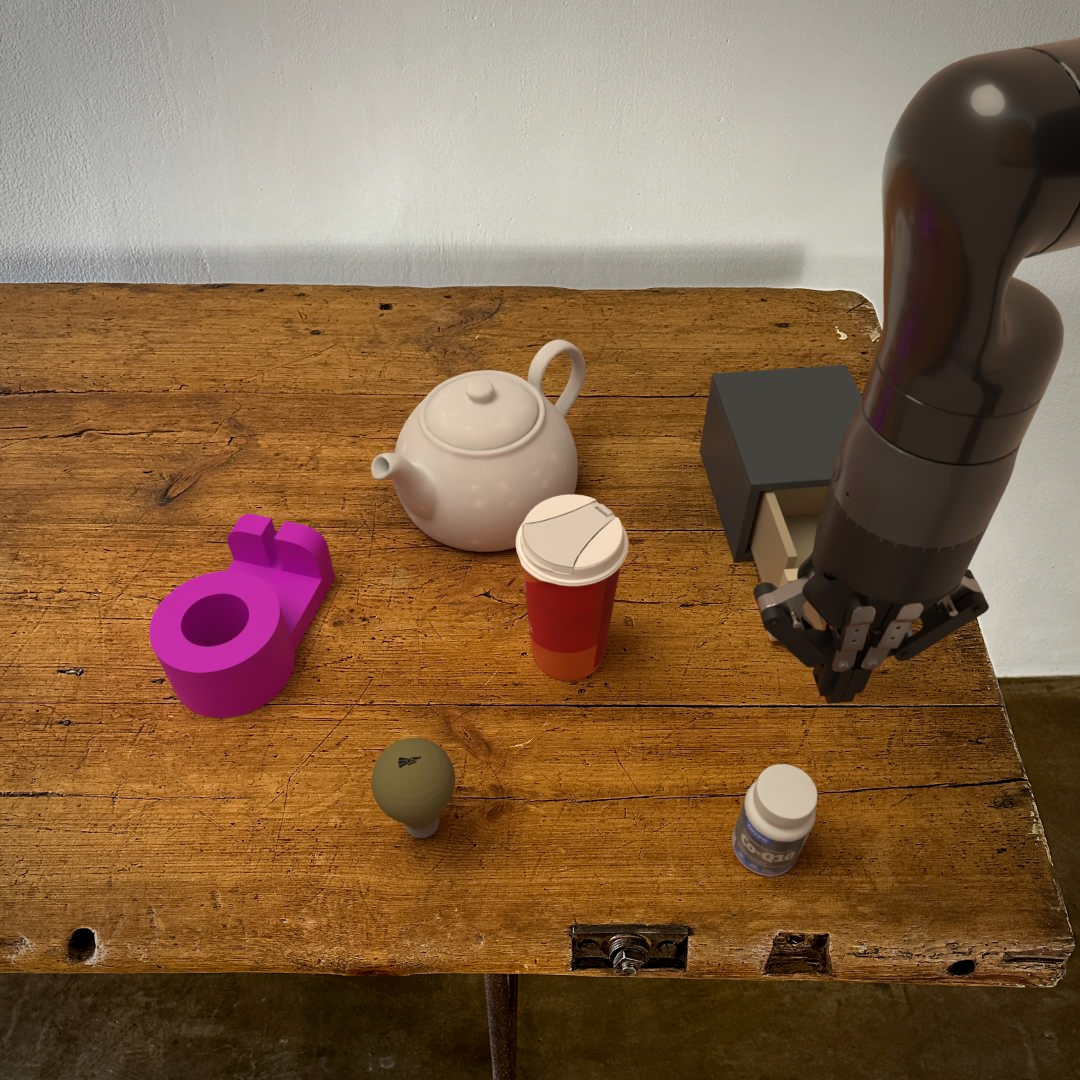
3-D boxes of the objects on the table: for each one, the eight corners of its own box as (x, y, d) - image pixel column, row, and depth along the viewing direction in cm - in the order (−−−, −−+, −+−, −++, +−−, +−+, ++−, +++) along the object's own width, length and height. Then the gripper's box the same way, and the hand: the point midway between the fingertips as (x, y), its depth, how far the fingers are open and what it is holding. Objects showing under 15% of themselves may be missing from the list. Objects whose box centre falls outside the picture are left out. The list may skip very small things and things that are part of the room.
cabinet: (871, 551, 88) (901, 473, 81) (733, 562, 88) (751, 484, 80) (823, 442, 98) (846, 364, 91) (699, 450, 97) (712, 373, 90)
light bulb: (409, 880, 68) (393, 814, 60) (370, 819, 71) (350, 750, 63) (476, 835, 70) (468, 767, 63) (435, 778, 73) (423, 707, 66)
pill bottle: (725, 866, 69) (743, 811, 62) (738, 807, 72) (757, 749, 65) (792, 887, 68) (818, 833, 61) (802, 827, 71) (828, 769, 64)
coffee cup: (572, 596, 85) (577, 473, 74) (638, 655, 81) (653, 534, 70) (497, 647, 81) (490, 525, 70) (562, 712, 77) (565, 593, 66)
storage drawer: (926, 677, 78) (957, 617, 72) (785, 689, 77) (805, 629, 71) (854, 513, 90) (875, 450, 84) (731, 522, 90) (745, 460, 84)
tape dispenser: (261, 730, 76) (243, 685, 71) (149, 701, 78) (124, 655, 73) (343, 578, 86) (332, 531, 82) (242, 556, 88) (225, 508, 83)
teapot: (590, 565, 87) (596, 454, 77) (385, 566, 87) (365, 454, 77) (582, 427, 100) (587, 316, 90) (403, 428, 100) (388, 316, 90)
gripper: (798, 553, 44) (741, 753, 56) (1082, 533, 44) (963, 735, 57) (758, 442, 49) (715, 649, 61) (1014, 426, 49) (918, 634, 62)
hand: (835, 690), depth 59 cm, fingers closed
